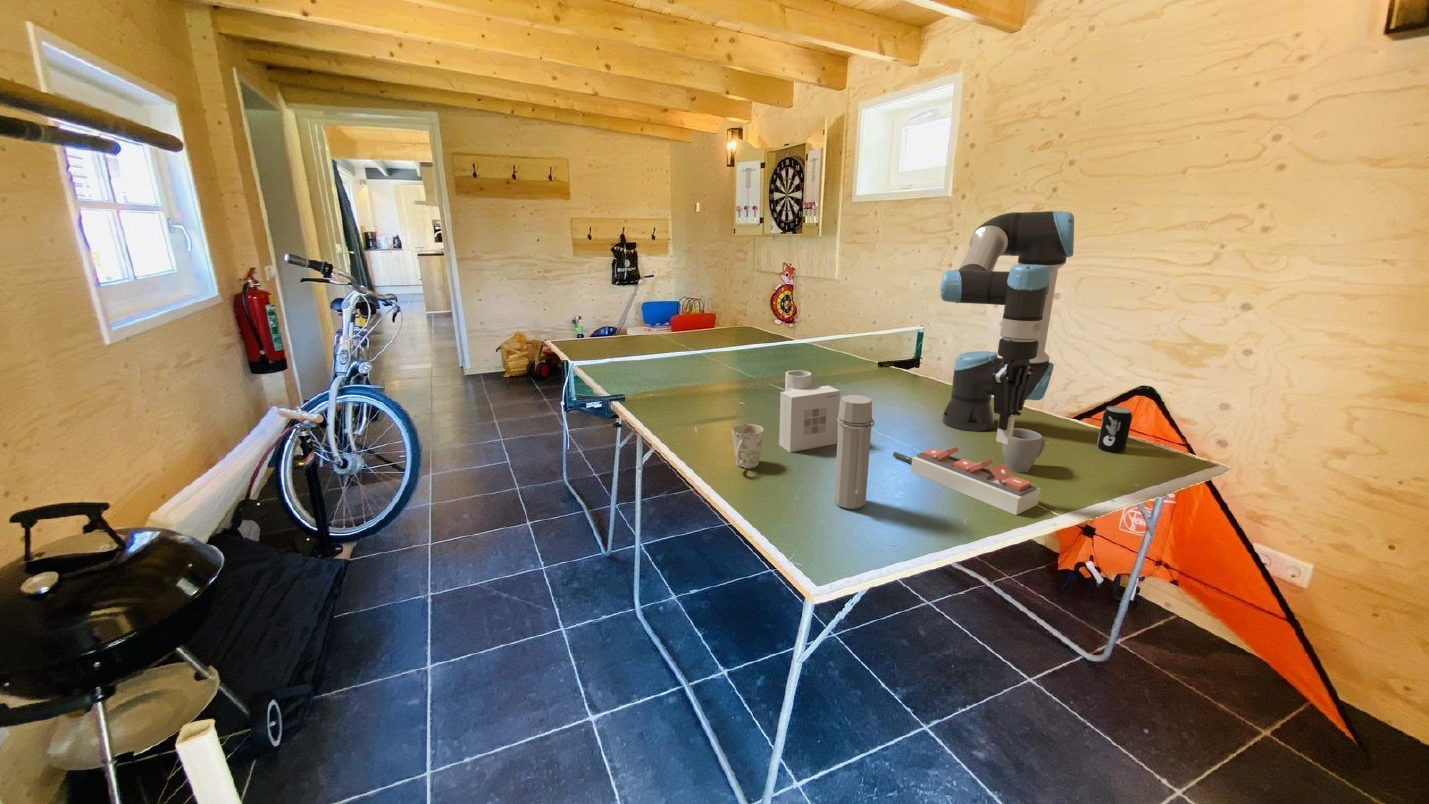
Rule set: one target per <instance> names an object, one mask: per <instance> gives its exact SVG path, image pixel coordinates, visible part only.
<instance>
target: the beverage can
mask: <svg viewBox="0 0 1429 804" xmlns="http://www.w3.org/2000/svg"><path fill="white" fill-rule="evenodd" d="M1132 420H1133V414H1132V409H1129V407H1128V408H1127V407H1123V406H1118V405H1117V406H1116V405H1113V406H1112V405H1109V406H1106V409H1105V410H1104V411H1103V414H1102V419H1101V423H1100V428H1099V434H1098V438H1097V443H1096V445H1097V447H1098V449H1099V450H1101V451H1104V452H1107V453H1110V454H1111V453H1114V454H1119V453H1123V452H1124V451H1125V450H1126V448H1127V442H1128V437H1129V433H1130V429H1131V424H1132Z"/></svg>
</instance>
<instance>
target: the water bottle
mask: <svg viewBox="0 0 1429 804" xmlns="http://www.w3.org/2000/svg"><path fill="white" fill-rule="evenodd" d="M872 403H873V402H872V398H870V397H868V396H865V395H859V394H858V395H857V394H855V395H854V394H850V395H844V396H840V404H839V415H838V418H837V421H838V437H837V444H836V445H837V447H836V459H835V462H836V463H835V476H834V477H835V478H834V479H835V480H834V482H835V483H834V495H833V500H834V501H833V502H834V503H835V504H836V505H837V506H839V507H840V508H843V509H847V510H856V509H858V510H859V509H861V508H862V507H863V506H865V505H866V502H867V488H868V474H869V465H870V464H869V463H870V461H869V460H870V453H871V452H870V450H871V437H872V428H873V427H874V426H875V420H874V419H873V406H872Z"/></svg>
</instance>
